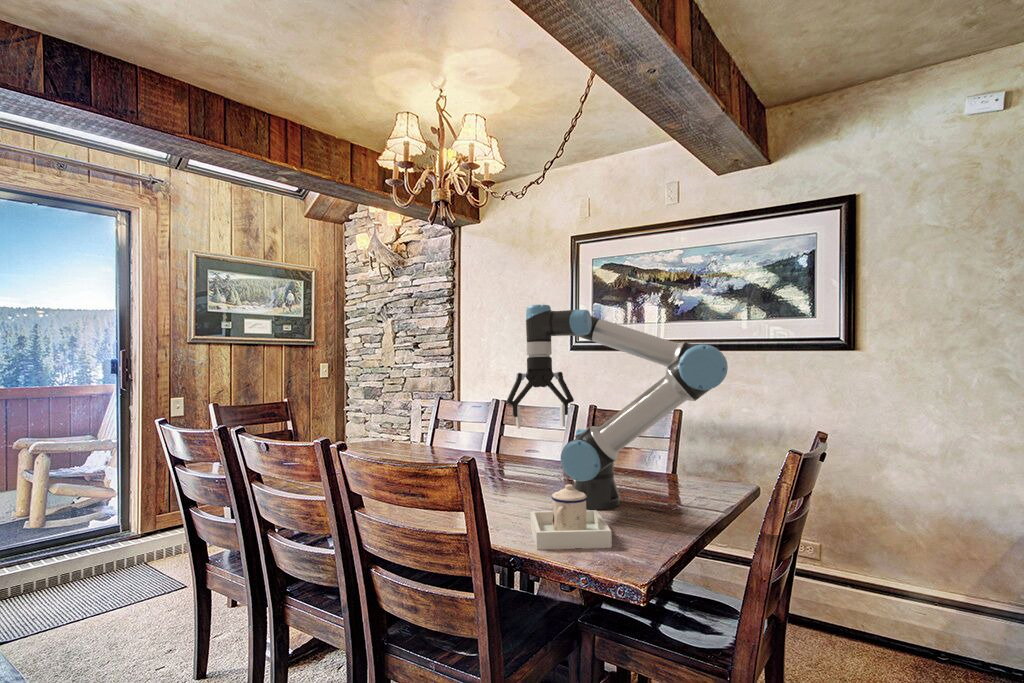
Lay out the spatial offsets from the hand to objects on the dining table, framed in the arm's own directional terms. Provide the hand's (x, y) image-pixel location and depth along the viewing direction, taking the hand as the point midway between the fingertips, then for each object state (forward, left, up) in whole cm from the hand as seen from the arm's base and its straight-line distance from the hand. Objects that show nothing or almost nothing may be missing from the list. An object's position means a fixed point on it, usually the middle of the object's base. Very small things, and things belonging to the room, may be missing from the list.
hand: (540, 427), depth 164 cm
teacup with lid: (-4, +24, -24) cm, 34 cm away
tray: (-5, +24, -25) cm, 35 cm away
